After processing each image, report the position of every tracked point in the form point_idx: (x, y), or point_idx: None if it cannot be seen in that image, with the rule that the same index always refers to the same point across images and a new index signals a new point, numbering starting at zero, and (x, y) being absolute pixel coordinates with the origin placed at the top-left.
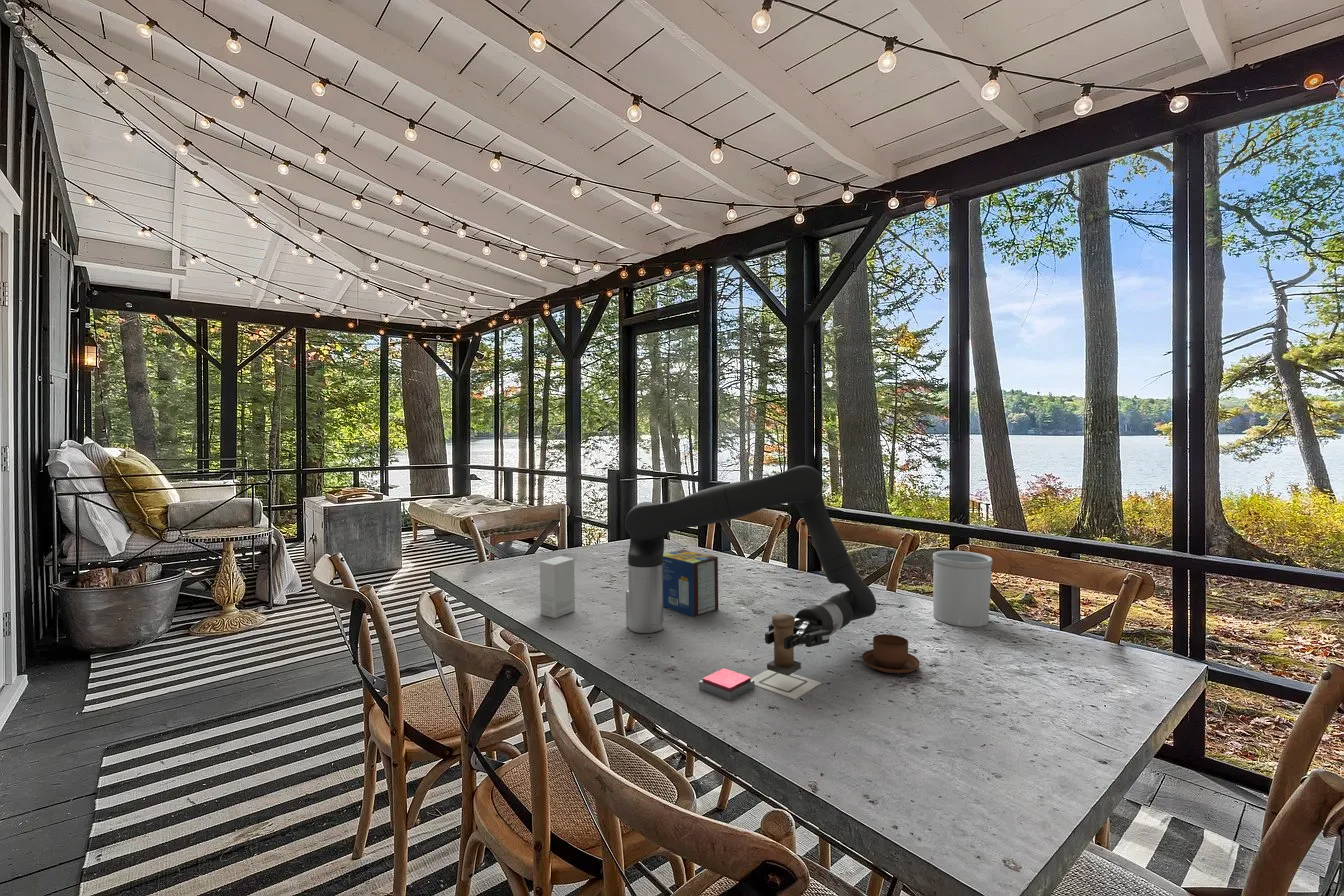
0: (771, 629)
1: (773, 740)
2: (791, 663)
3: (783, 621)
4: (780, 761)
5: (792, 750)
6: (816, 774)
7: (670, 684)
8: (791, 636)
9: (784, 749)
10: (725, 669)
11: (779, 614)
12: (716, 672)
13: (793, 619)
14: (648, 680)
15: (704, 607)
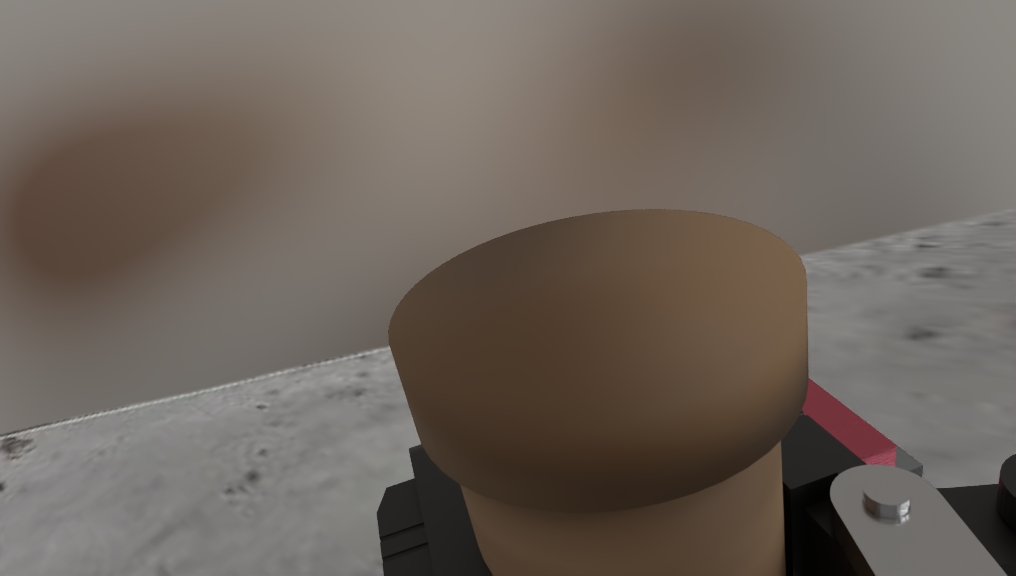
0: (957, 497)
1: (229, 455)
2: None
3: (453, 263)
4: (149, 428)
5: (138, 477)
6: (17, 475)
7: (850, 312)
8: (437, 515)
9: (167, 460)
10: (870, 446)
11: (788, 277)
12: (824, 397)
13: (397, 352)
14: (912, 270)
15: None
